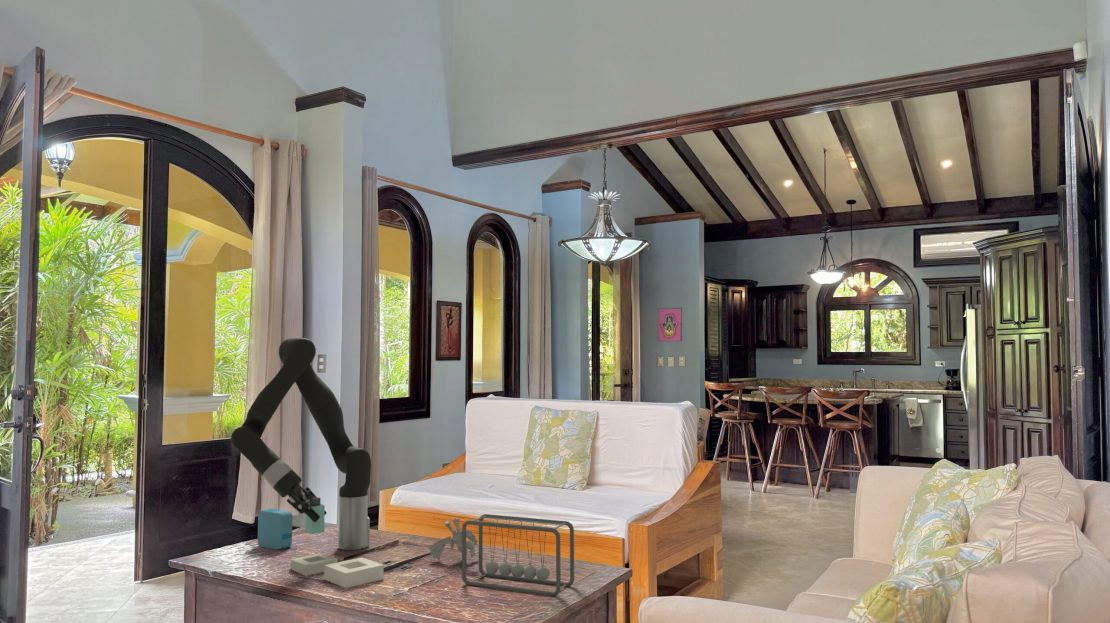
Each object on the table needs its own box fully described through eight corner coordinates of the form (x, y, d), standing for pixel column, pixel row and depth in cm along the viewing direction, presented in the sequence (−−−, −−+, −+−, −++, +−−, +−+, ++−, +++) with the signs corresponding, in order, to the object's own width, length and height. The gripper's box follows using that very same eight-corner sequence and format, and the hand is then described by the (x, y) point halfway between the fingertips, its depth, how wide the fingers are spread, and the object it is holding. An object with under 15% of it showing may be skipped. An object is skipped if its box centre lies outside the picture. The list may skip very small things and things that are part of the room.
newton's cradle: (461, 584, 210) (461, 520, 211) (479, 575, 220) (479, 513, 221) (559, 598, 198) (559, 529, 199) (574, 587, 208) (574, 521, 209)
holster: (321, 563, 234) (321, 553, 234) (337, 569, 226) (337, 559, 227) (290, 569, 227) (290, 559, 227) (306, 576, 219) (306, 565, 220)
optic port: (361, 571, 224) (361, 557, 225) (383, 579, 216) (383, 564, 216) (324, 579, 216) (324, 565, 216) (345, 588, 207) (345, 573, 208)
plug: (318, 529, 230) (318, 496, 231) (324, 532, 227) (324, 498, 228) (305, 532, 227) (306, 498, 228) (311, 534, 225) (312, 500, 225)
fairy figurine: (483, 559, 227) (462, 519, 226) (436, 577, 233) (416, 537, 233) (496, 544, 236) (475, 505, 235) (450, 561, 242) (431, 523, 242)
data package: (292, 547, 254) (292, 511, 255) (281, 550, 250) (281, 513, 251) (268, 543, 260) (268, 508, 261) (257, 546, 256) (257, 510, 257)
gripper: (282, 472, 221) (322, 513, 221) (299, 465, 236) (337, 504, 235) (263, 491, 221) (304, 532, 220) (282, 483, 235) (319, 521, 235)
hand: (320, 517), depth 228 cm, fingers closed on plug, 5 cm apart
